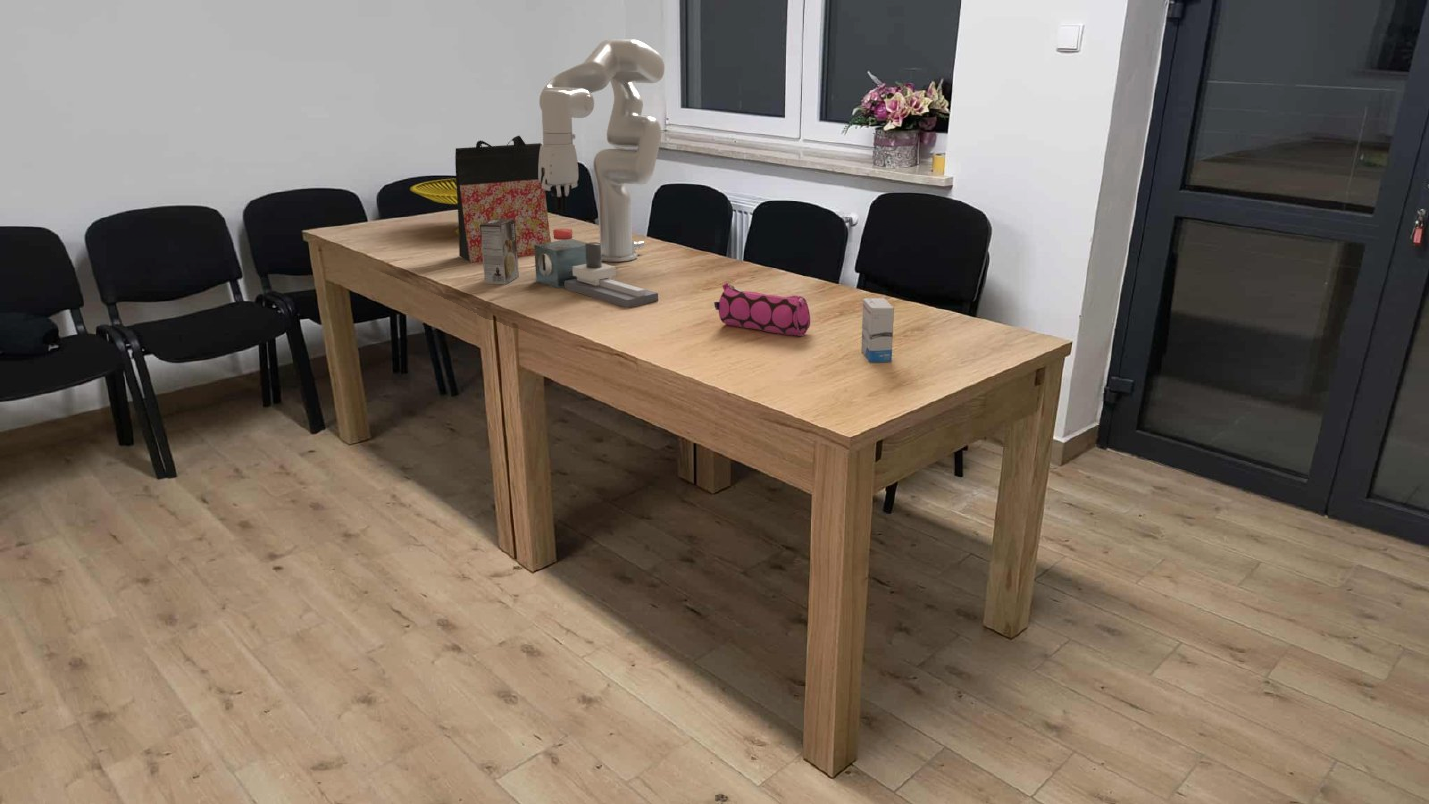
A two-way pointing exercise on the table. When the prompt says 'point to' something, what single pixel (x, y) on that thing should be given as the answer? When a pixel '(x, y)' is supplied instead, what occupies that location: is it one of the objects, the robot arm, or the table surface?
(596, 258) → the carriage
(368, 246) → the table surface
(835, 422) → the table surface
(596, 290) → the rail bed
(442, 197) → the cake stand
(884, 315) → the ink box
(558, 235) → the button
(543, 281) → the cabinet
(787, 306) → the pencil case
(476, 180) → the gift bag
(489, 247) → the coffee box
